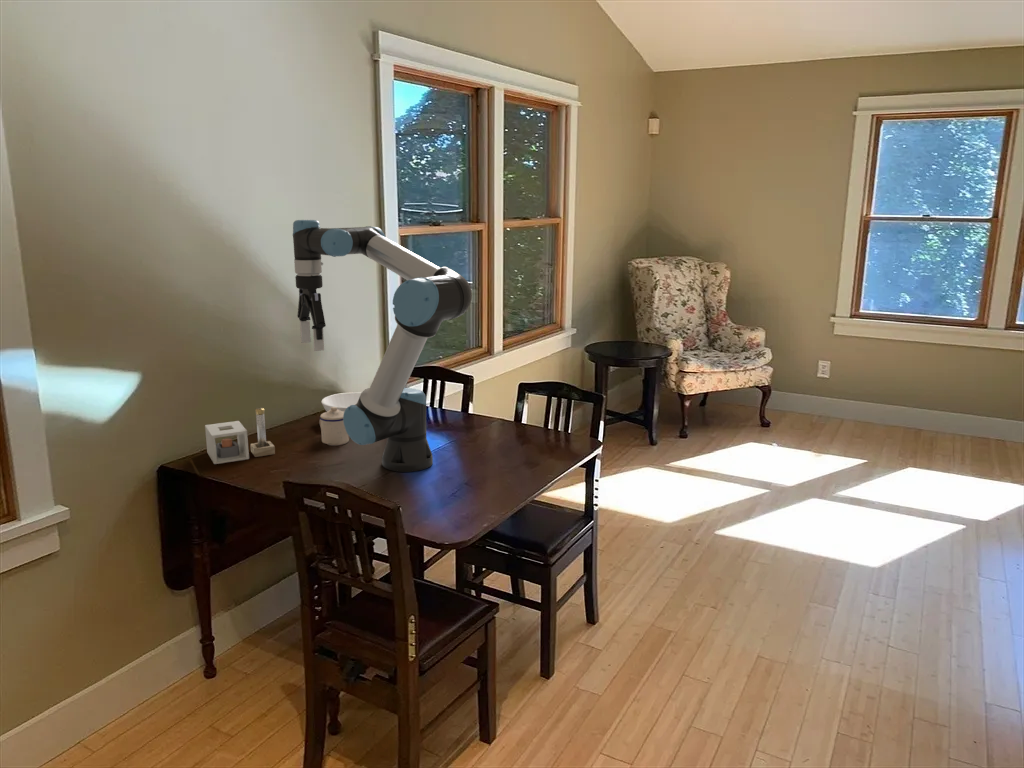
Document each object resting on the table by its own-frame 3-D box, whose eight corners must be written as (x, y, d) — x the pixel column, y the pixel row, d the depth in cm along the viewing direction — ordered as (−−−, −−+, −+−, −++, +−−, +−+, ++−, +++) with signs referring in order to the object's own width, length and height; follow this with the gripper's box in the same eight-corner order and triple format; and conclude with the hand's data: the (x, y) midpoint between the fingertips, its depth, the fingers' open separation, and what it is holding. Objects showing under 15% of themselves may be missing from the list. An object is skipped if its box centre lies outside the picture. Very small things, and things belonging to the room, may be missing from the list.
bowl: (350, 434, 265) (349, 411, 263) (309, 423, 277) (308, 400, 275) (395, 420, 281) (394, 398, 279) (355, 410, 293) (354, 389, 291)
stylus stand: (275, 455, 243) (274, 446, 242) (255, 458, 240) (254, 449, 239) (270, 450, 248) (269, 440, 247) (250, 452, 245) (250, 443, 244)
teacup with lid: (355, 441, 257) (354, 407, 255) (332, 448, 251) (331, 412, 248) (332, 434, 265) (330, 400, 262) (309, 440, 258) (308, 406, 255)
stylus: (267, 453, 243) (264, 409, 240) (259, 454, 242) (256, 410, 239) (266, 450, 245) (263, 407, 242) (257, 451, 244) (254, 408, 241)
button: (233, 452, 240) (232, 440, 239) (223, 454, 238) (222, 441, 237) (231, 450, 242) (230, 437, 241) (221, 451, 241) (220, 439, 240)
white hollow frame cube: (249, 460, 238) (247, 430, 236) (214, 465, 233) (211, 435, 231) (240, 449, 248) (238, 420, 246) (207, 454, 243) (204, 425, 241)
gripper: (334, 278, 219) (337, 352, 224) (309, 269, 240) (312, 338, 245) (307, 279, 216) (311, 355, 221) (284, 270, 237) (288, 340, 242)
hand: (312, 346), depth 233 cm, fingers open, 13 cm apart
